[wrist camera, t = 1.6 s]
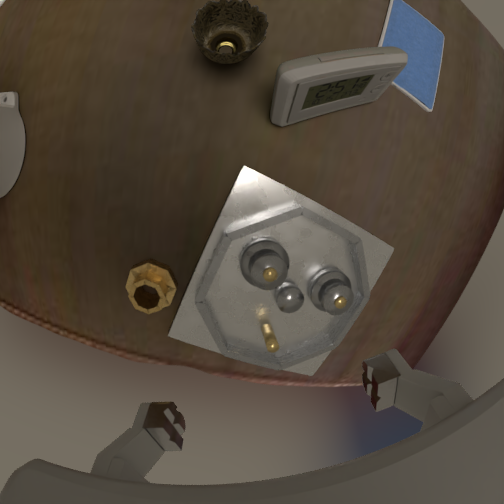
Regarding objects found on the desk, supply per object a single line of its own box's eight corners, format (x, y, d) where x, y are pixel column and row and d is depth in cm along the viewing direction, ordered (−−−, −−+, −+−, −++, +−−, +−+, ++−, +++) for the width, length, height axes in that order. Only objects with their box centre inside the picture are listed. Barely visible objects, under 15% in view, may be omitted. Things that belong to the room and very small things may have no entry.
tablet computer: (427, 114, 33) (433, 114, 32) (368, 71, 30) (372, 69, 29) (441, 36, 28) (445, 35, 27) (388, -5, 25) (392, -8, 24)
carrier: (168, 331, 38) (164, 356, 32) (242, 165, 32) (249, 166, 26) (310, 371, 44) (320, 393, 39) (390, 246, 38) (412, 259, 33)
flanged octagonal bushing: (124, 293, 35) (116, 308, 31) (137, 252, 33) (129, 264, 30) (167, 310, 36) (163, 326, 33) (182, 271, 35) (179, 285, 31)
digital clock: (265, 129, 31) (289, 116, 21) (252, 62, 28) (269, 26, 18) (377, 120, 32) (428, 114, 22) (365, 62, 29) (411, 40, 19)
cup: (247, 82, 28) (259, 61, 21) (188, 71, 27) (182, 46, 19) (261, 35, 26) (276, 6, 19) (204, 23, 25) (204, -9, 17)
